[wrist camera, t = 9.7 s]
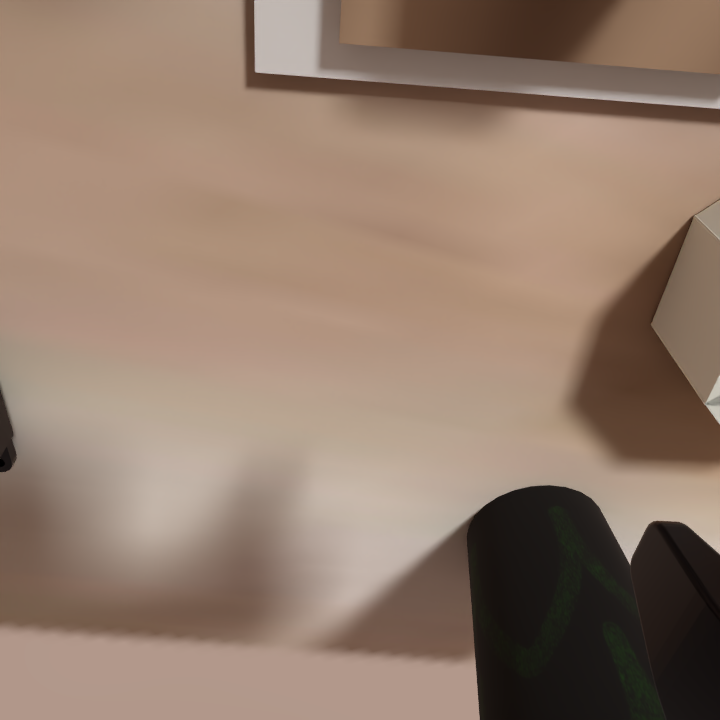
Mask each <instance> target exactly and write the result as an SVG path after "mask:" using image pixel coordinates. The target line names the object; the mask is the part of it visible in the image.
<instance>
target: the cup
mask: <svg viewBox="0 0 720 720" xmlns="http://www.w3.org/2000/svg"><path fill="white" fill-rule="evenodd" d="M467 547H468V561H469V574H470V588H471V602H472V616H473V630H474V644H475V658H476V671H477V685H478V700H479V714H480V720H666V719H665V716H664V713H663V710H662V707H661V703H660V700H659V697H658V694H657V690H656V687H655V684H654V680H653V675H652V671H651V667H650V663H649V658H648V653H647V649H646V644H645V639H644V635H643V630H642V625H641V621H640V616H639V611H638V607H637V602H636V597H635V593H634V588H633V583H632V579H631V572H630V564H629V562H628V560H627V559H626V557H625V555H624V553H623V551H622V549H621V547H620V545H619V544H618V542H617V540H616V538H615V536H614V534H613V532H612V531H611V529H610V527H609V525H608V523H607V521H606V519H605V517H604V516H603V514H602V512H601V510H600V508H599V507H598V506H597V505H596V503H595V502H594V501H593V500H592V499H591V498H589V497H588V496H586V495H584V494H583V493H581V492H579V491H576V490H573V489H569V488H566V487H558V486H534V487H528V488H524V489H519V490H515V491H512V492H510V493H507V494H505V495H503V496H500V497H498V498H497V499H495V500H493V501H492V502H490V503H489V504H487V505H486V506H485V507H484V508H483V509H482V510H481V511H480V512H479V513H478V514H477V515H476V516H475V517H474V519H473V521H472V522H471V524H470V526H469V529H468V534H467Z"/></svg>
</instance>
